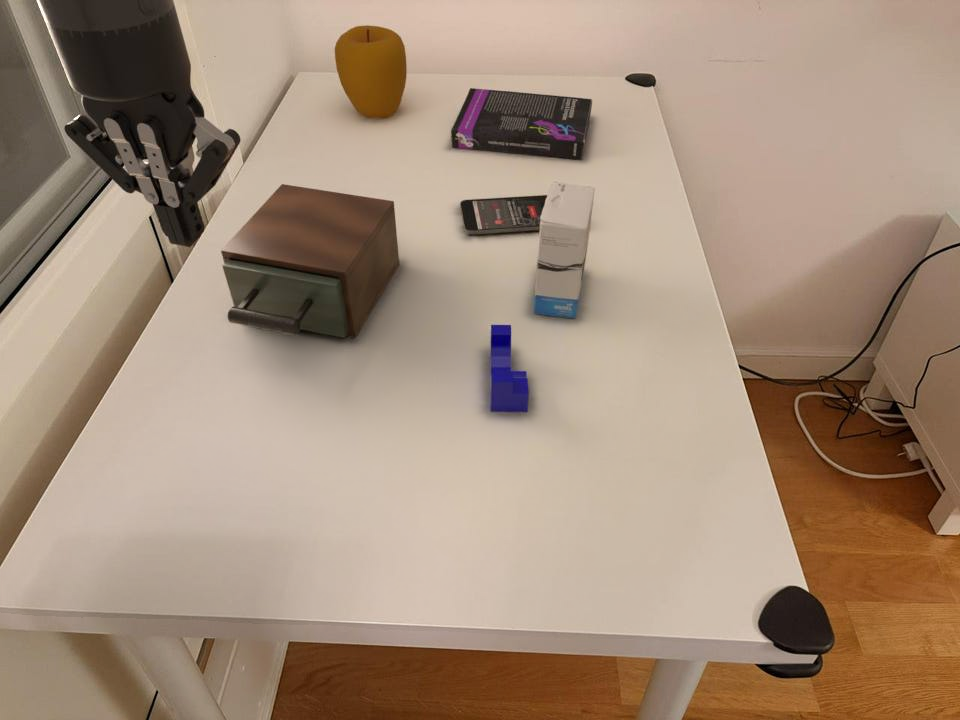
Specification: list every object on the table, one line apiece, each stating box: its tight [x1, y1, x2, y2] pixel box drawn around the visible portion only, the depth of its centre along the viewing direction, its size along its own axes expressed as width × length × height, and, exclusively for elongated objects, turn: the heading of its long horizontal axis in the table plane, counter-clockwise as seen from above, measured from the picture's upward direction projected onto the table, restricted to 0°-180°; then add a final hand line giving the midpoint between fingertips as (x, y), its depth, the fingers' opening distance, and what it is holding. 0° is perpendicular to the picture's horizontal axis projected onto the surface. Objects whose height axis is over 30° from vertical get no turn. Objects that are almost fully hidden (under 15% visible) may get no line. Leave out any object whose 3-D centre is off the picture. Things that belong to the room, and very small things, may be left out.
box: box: [450, 87, 593, 160], centre depth 109 cm, size 14×4×20 cm
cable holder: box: [489, 324, 530, 413], centre depth 71 cm, size 8×4×4 cm, turn 0°
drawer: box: [221, 259, 349, 339], centre depth 77 cm, size 17×12×7 cm
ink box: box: [532, 181, 596, 319], centre depth 78 cm, size 8×5×12 cm, turn 168°
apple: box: [334, 25, 408, 119], centre depth 111 cm, size 11×11×13 cm
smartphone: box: [459, 194, 548, 236], centre depth 93 cm, size 7×1×15 cm
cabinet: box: [220, 183, 400, 339], centre depth 80 cm, size 14×14×9 cm
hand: (186, 239), depth 56 cm, fingers closed
